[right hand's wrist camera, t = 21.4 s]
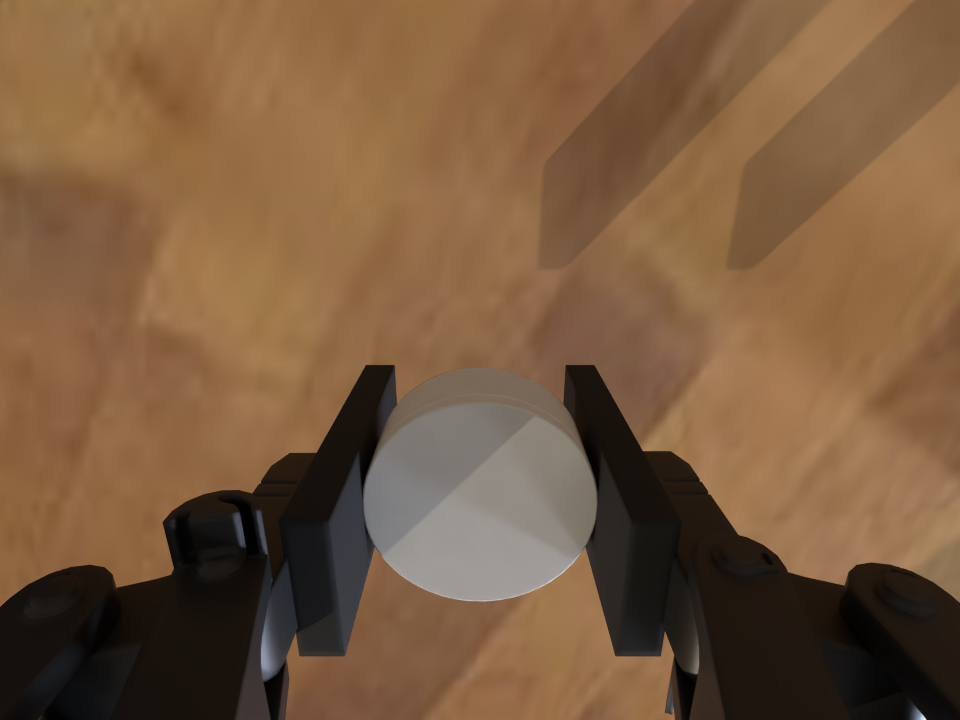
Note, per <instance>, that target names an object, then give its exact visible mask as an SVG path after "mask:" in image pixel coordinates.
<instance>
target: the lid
mask: <svg viewBox="0 0 960 720" xmlns="http://www.w3.org/2000/svg"><path fill="white" fill-rule="evenodd" d="M362 500H363V512H364V520H365V525H366V528H367V530H368V533H369V536H370V538H371V540H372V542H373V544H374V545H375V547H376V549H377V550H378V552H379V553H380V554H381V556H382V557H383V558H384V560H385V561H386V562H387V563H388V564H389V565H390V566H391V567H392V568H393V569H394V570H395V571H396V572H398V573H399V574H400V575H401V576H403V577H404V578H405V579H407V580H408V581H410V582H412V583H413V584H415V585H417V586H419V587H421V588H423V589H425V590H427V591H429V592H432V593H435V594H438V595H441V596H445V597H449V598H453V599H459V600H467V601H493V600H501V599H507V598H512V597H516V596H519V595H522V594H526V593H528V592H531V591H533V590H535V589H538V588H540V587H542V586H543V585H545V584H547V583H549V582H551V581H552V580H554V579H555V578H556V577H558V576H559V575H560V574H562V573H563V572H564V571H565V570H566V569H567V568H568V567H569V566H571V565H572V564H573V562H574V561H575V560H576V559H577V558H578V556H579V555H580V554H581V552H582V551H583V549H584V548H585V546H586V544H587V543H588V541H589V538H590V536H591V534H592V532H593V529H594V525H595V522H596V516H597V505H598V490H597V485H596V480H595V477H594V474H593V471H592V468H591V465H590V463H589V460H588V457H587V454H586V452H585V449H584V446H583V443H582V441H581V438H580V435H579V432H578V430H577V427H576V424H575V422H574V421H573V419H572V417H571V415H570V413H569V412H568V410H567V409H566V408H565V406H564V405H563V404H562V403H561V402H560V401H559V400H558V399H557V398H556V396H555V395H554V394H552V393H551V392H550V391H549V390H547V389H546V388H545V387H543V386H542V385H540V384H538V383H537V382H535V381H533V380H531V379H529V378H527V377H525V376H522V375H520V374H517V373H514V372H510V371H506V370H502V369H495V368H477V367H475V368H465V369H459V370H454V371H450V372H446V373H444V374H441V375H438V376H435V377H433V378H431V379H429V380H427V381H425V382H423V383H422V384H420V385H419V386H417V387H416V388H414V389H413V390H412V391H410V392H409V393H408V394H407V395H406V396H405V397H404V398H403V399H402V400H401V401H400V402H399V403H398V404H397V406H396V407H395V408H394V409H393V411H392V412H391V414H390V416H389V417H388V419H387V421H386V423H385V426H384V428H383V430H382V433H381V436H380V438H379V441H378V444H377V447H376V449H375V452H374V455H373V458H372V460H371V463H370V466H369V468H368V471H367V474H366V478H365V482H364V486H363V495H362Z"/></svg>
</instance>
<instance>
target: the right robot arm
mask: <svg viewBox="0 0 960 720" xmlns="http://www.w3.org/2000/svg"><path fill="white" fill-rule="evenodd" d="M563 405H564V406H565V408H566V409H567V410H568V412H569V413H570V415H571V417H572V419H573V421H574V422H575V424H576V427H577V430H578V432H579V435H580V438H581V441H582V443H583V446H584V449H585V452H586V454H587V457H588V460H589V463H590V465H591V468H592V471H593V474H594V477H595V480H596V485H597V490H598V505H597V516H596V522H595V525H594V529H593V532H592V534H591V536H590V538H589V541H588V543H587V544H586V550H587V554H588V557H589V561H590V565H591V568H592V572H593V576H594V579H595V583H596V587H597V590H598V594H599V598H600V601H601V605H602V608H603V612H604V616H605V619H606V623H607V627H608V630H609V634H610V638H611V641H612V645H613V649H614V652H615V656H661V651H662V645H663V639H664V632H666V634H667V637H668V640H669V642H670V645H671V647H672V650H673V652H674V660H673V666H672V672H671V677H670V683H669V689H668V695H667V701H666V709H665V713H668V714H672V712H673V707H674V712H675V720H960V603H959V602H958V601H957V600H956V599H955V598H954V597H952V596H951V595H950V594H949V593H947V592H946V591H944V590H943V589H942V588H940V587H939V586H938V585H936V584H935V583H934V582H932V581H930V580H928V579H926V578H924V577H922V576H920V575H918V574H916V573H914V572H912V571H909V570H906V569H902V568H900V567H896V566H892V565H888V564H879V563H866V564H860V565H856V566H855V567H854V568H853V569H852V570H851V571H849V573H848V576H847V580H846V583H845V586H843V585H839V584H834V583H830V582H825V581H821V580H816V579H812V578H807V577H803V576H799V575H796V574H792V573H789V572H788V571H787V569H786V567H785V566H784V564H783V563H782V561H781V560H780V559H779V557H778V556H777V555H776V554H774V553H773V552H772V551H771V550H769V549H768V548H767V547H765V546H764V545H762V544H760V543H758V542H756V541H754V540H751V539H749V538H747V537H743V536H739V535H738V534H737V532H736V531H735V530H734V528H733V527H732V525H731V524H730V522H729V521H728V519H727V518H726V517H725V515H724V514H723V512H722V511H721V509H720V508H719V506H718V505H717V504H716V502H715V501H714V499H713V498H712V496H711V495H708V491H707V489H706V488H705V486H704V485H703V483H702V482H700V481H699V478H698V476H697V475H696V473H695V472H694V470H693V469H692V467H691V466H690V465H689V464H688V463H687V462H685V461H684V460H682V459H681V458H680V457H678V456H677V455H675V454H674V453H672V452H671V451H642V449H641V447H640V445H639V444H638V442H637V440H636V438H635V436H634V435H633V433H632V431H631V429H630V428H629V426H628V424H627V422H626V421H625V419H624V417H623V415H622V413H621V412H620V410H619V408H618V406H617V405H616V403H615V401H614V399H613V397H612V396H611V394H610V392H609V390H608V389H607V387H606V385H605V383H604V381H603V380H602V378H601V376H600V374H599V373H598V371H597V369H596V367H595V366H594V365H566V371H565V387H564V404H563ZM396 406H397V398H396V382H395V365H366V366H365V368H364V370H363V371H362V373H361V375H360V377H359V379H358V380H357V382H356V384H355V386H354V387H353V389H352V391H351V393H350V395H349V396H348V398H347V400H346V402H345V403H344V405H343V407H342V409H341V411H340V412H339V414H338V416H337V418H336V419H335V421H334V423H333V425H332V426H331V428H330V430H329V432H328V434H327V435H326V437H325V439H324V441H323V442H322V444H321V446H320V448H319V450H318V451H317V453H289V454H288V455H286V456H285V457H283V458H282V459H281V460H279V461H278V462H276V463H275V464H273V465H272V466H271V467H270V469H269V470H268V472H267V473H266V475H265V476H264V477H263V479H262V480H261V484H259V485H258V486H257V488H256V489H255V491H254V492H253V494H252V493H248V492H244V491H240V490H222V491H217V492H213V493H208V494H204V495H201V496H199V497H196V498H194V499H191V500H189V501H187V502H185V503H183V504H182V505H180V506H179V507H178V508H176V509H175V510H173V511H172V512H171V513H170V514H169V515H168V516H167V518H166V519H165V520H164V521H163V526H164V530H165V534H166V538H167V542H168V546H169V550H170V554H171V558H172V562H173V566H174V570H173V572H172V575H169V576H166V577H162V578H159V579H155V580H150V581H146V582H141V583H137V584H132V585H127V586H123V587H118V588H116V585H115V581H114V578H113V575H112V574H111V573H110V572H109V571H108V570H107V569H106V568H105V567H100V566H94V565H85V566H76V567H70V568H67V569H63V570H60V571H56V572H54V573H51V574H48V575H46V576H44V577H42V578H40V579H38V580H36V581H34V582H32V583H30V584H28V585H27V586H26V587H24V588H23V589H22V590H20V591H19V592H17V593H16V594H15V595H13V596H12V597H11V598H9V599H8V600H7V601H6V602H5V603H4V604H3V605H2V606H1V607H0V720H285V714H286V705H287V696H288V687H289V673H288V666H287V660H286V656H287V653H288V651H289V648H290V646H291V643H292V641H293V638H294V636H295V633H296V636H297V643H298V649H299V655H300V656H345V654H346V650H347V646H348V643H349V639H350V635H351V632H352V628H353V624H354V621H355V617H356V613H357V610H358V606H359V602H360V599H361V595H362V591H363V588H364V584H365V581H366V577H367V573H368V570H369V566H370V562H371V559H372V555H373V551H374V548H375V545H374V544H373V542H372V540H371V538H370V536H369V533H368V530H367V528H366V525H365V520H364V512H363V500H362V495H363V486H364V482H365V478H366V474H367V471H368V468H369V466H370V463H371V460H372V458H373V455H374V452H375V449H376V447H377V444H378V441H379V438H380V436H381V433H382V430H383V428H384V426H385V423H386V421H387V419H388V417H389V416H390V414H391V412H392V411H393V409H394V408H395V407H396Z"/></svg>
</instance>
